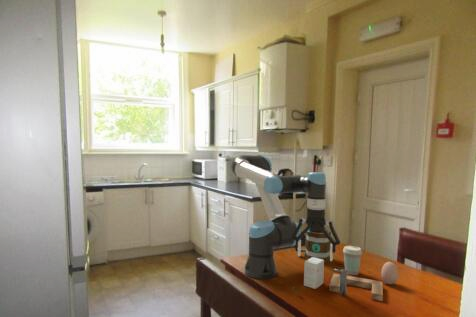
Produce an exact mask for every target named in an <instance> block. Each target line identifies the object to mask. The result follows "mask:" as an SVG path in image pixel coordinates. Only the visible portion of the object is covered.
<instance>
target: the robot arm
mask: <svg viewBox="0 0 476 317" xmlns="http://www.w3.org/2000/svg"><path fill="white" fill-rule="evenodd" d="M272 167H273V166H272V161H271V160H270V159H269V158H268V157H267V156H265V155H260V154H259V155H249V154H247V155H246V154H242V155H238V156H236V157H234V158H233V159H232V161H231V164H230V170H231V172H232V173H233V175H234V176H236V177H238V178H242V179H243V178H244V179H247V180H249V181H251V183H252V184H253V183H254V184H255V186H256V189H257V192H258V194H259V197H260V199H261V201H262V204H263V208H264V209H265V211H266V214H267V216H268V220H259V221H255V222H253V223H252V224H250V226H249V228H248V229H249V232H248V256H247V259H246V262H245V265H244V275H246V276H248V277H250V278H252V279H253V278H255V279H263V280H264V279H271V278H273V277H274V278H275V277H276V276H277V274H278V273H277V272H278V267H277V264H276V261H275V258H274V254H275V253H274V250H275V249H281V248H282V249H283V248H290V247H294V245H296V248H297V249H298V252H297V257H300V256H301V254H302V252H301V250H302V240H301V239H302V237H304V236H303V235H306V232H307V231H308V230H309V229H311V230H316V231H320V230H321V231H322V232H323V233H324V235H325V236H326V237H327V238H328V240H329V241H330V260H329V261H330V262H333V260H334V254H335V253H336V248H337V246H338V245H340V244H341V240H340V238H339V236H338V234H337V232H336V229H335V227H334V224H333V222H334V221H332V220H330V221H326V210H325V208H326V189H327V188H326V187H327V185H326V184H327V181H326V174H325V173H324V172H316V171H315V172H314V171H313V172H310V171H309V172H308V173H307V175H299V174H294V175H279V174H276V173H273V171H272V170H273V169H272ZM289 193H290V194H291V193H292V194H293V193H302V194H303V193H304V194H306V195H307V196H306V197H307V198H306V200H307V202H306V204H307V205H306V207H307V209H306V219H305V218H303V217H301V218H299V220H298V222H296V221H293V220H292V218H291V216H290V215H289V214H286V212H285V210H284V208H283V205H282V202H281V201H280V199H279V198H280V197H279V195H278V194H289ZM303 224H306V225H307V226H306V227H305V228H304V229H303V230H302V229H301V227H302V226H303ZM325 225H326V226H328V227H329V231H330V232H331V234H332V235H331V236H330V234H329V233H328V232H327V230H328V229H327V228H326V227H325ZM326 229H327V230H326ZM301 232H302V233H301ZM332 236H333V237H332Z"/></svg>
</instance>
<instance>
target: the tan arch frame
mask: <svg viewBox="0 0 476 317" xmlns="http://www.w3.org/2000/svg"><path fill="white" fill-rule="evenodd" d="M346 286H352V287H358V288H364V289H367V290H368V289H370V290H371V300H374V301H379V302H383V301H384V300H383V299H384V293H383V281H379V280H375V279H368V278H363V277H357V276H353V275H347V282H346ZM328 288H329V292H333V293H338V294H340V273H336V272H333V273H332V277H331V279H330V283H329V286H328Z"/></svg>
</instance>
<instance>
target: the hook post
mask: <svg viewBox="0 0 476 317" xmlns="http://www.w3.org/2000/svg"><path fill="white" fill-rule="evenodd" d="M332 271H333V273H337V274H340V293H339V296H341V297H345V298H346V297H347V285H346V282H347V276H348V274H347V270H345V268H344V269H343V268H342V269H338V268H337V269H336V268H333V269H332Z"/></svg>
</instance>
